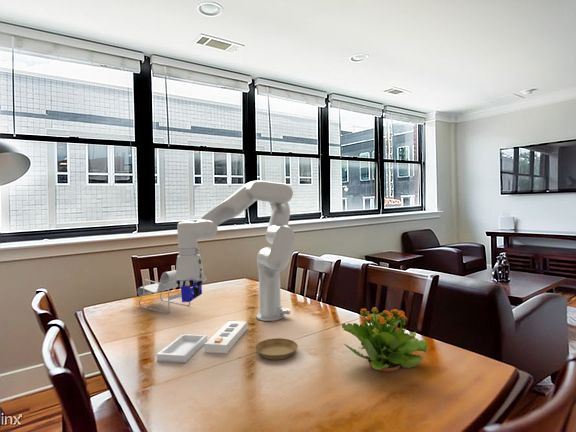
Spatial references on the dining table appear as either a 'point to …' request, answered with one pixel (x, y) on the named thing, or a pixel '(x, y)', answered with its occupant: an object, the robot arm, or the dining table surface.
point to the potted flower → (386, 341)
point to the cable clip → (189, 292)
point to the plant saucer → (276, 348)
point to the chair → (161, 288)
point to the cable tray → (182, 348)
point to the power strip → (226, 337)
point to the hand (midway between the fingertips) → (190, 296)
